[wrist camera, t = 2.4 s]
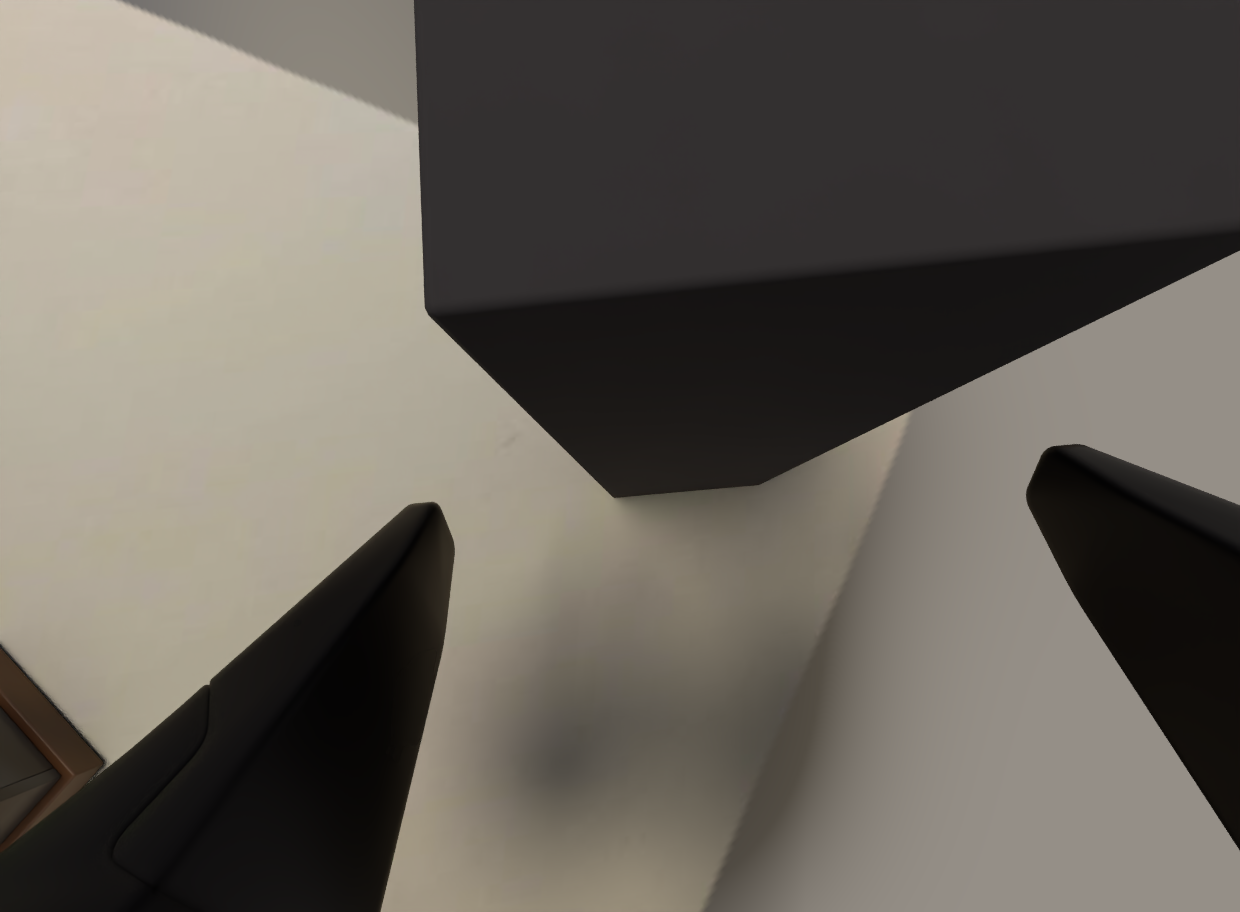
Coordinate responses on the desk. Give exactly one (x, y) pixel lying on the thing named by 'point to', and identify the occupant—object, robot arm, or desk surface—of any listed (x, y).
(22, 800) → the seat base
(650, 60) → the back pad
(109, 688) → the desk surface
